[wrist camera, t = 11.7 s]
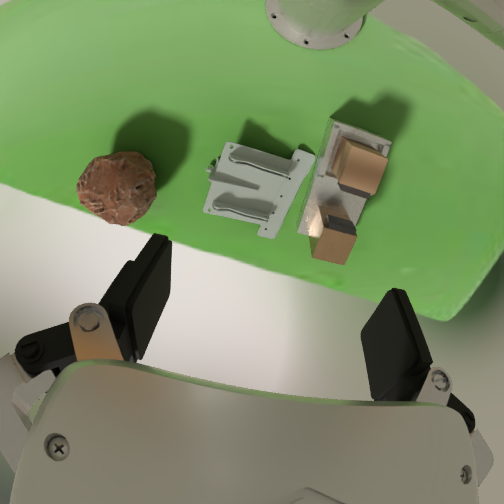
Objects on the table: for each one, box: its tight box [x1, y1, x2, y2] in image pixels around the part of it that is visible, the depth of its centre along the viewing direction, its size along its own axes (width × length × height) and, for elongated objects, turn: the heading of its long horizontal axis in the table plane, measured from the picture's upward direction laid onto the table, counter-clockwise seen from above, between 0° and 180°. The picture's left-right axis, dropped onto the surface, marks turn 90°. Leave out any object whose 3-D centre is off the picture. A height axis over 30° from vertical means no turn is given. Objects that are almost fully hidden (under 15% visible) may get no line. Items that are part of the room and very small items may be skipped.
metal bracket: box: [203, 141, 315, 239], centre depth 40 cm, size 14×6×15 cm
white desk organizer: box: [297, 117, 392, 265], centre depth 35 cm, size 17×8×9 cm, turn 168°
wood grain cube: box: [331, 136, 389, 199], centre depth 31 cm, size 5×5×6 cm
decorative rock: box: [77, 151, 157, 226], centre depth 37 cm, size 13×11×10 cm
